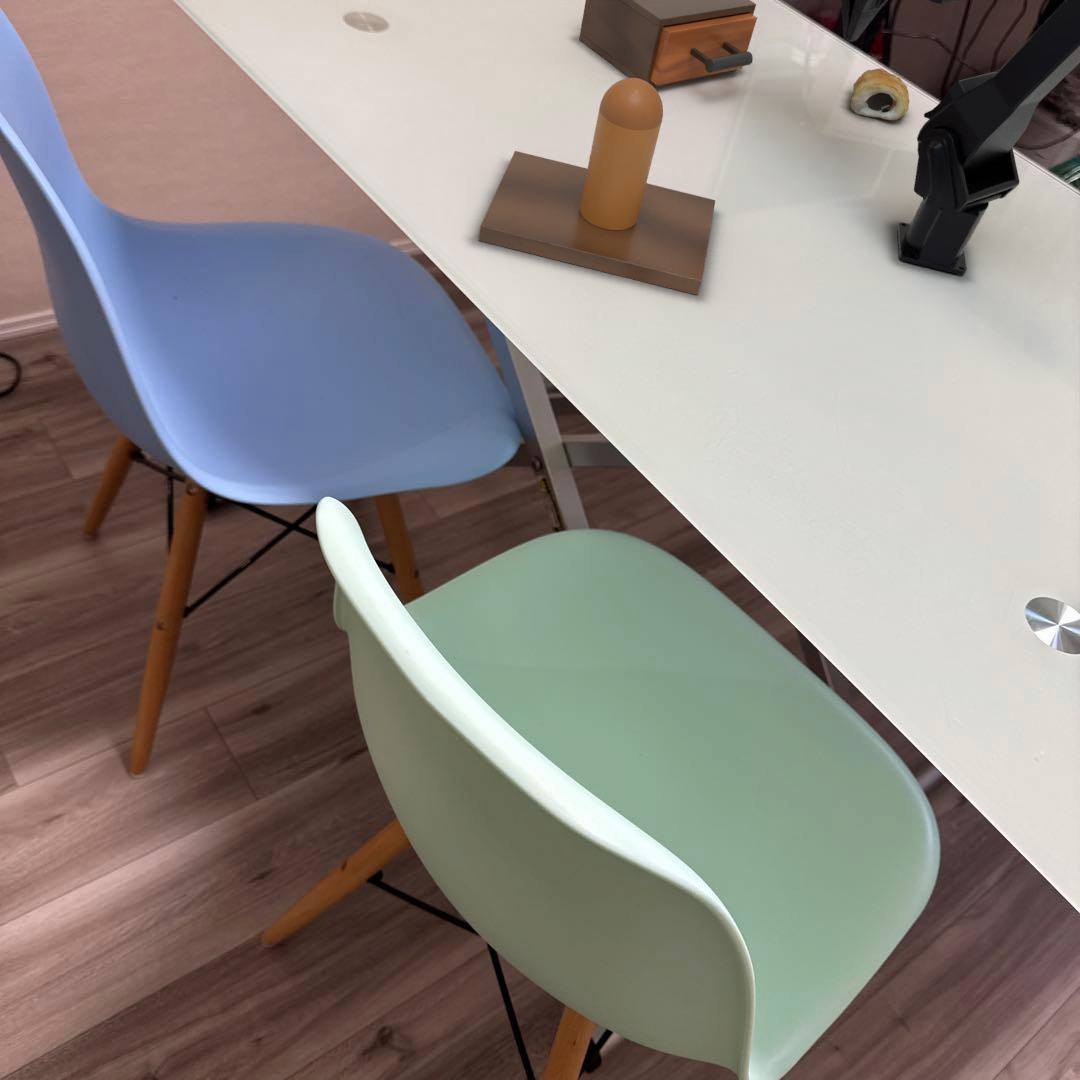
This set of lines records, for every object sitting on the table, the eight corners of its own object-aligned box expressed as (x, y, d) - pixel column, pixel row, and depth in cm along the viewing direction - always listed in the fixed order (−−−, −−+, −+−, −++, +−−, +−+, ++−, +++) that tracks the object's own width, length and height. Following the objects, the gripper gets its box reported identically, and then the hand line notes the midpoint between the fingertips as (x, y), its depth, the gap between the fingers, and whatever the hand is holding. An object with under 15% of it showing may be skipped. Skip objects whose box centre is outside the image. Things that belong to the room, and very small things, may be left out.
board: (697, 295, 87) (702, 281, 85) (478, 240, 87) (480, 225, 86) (711, 213, 96) (715, 199, 95) (512, 164, 96) (514, 150, 95)
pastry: (850, 80, 120) (863, 48, 118) (904, 94, 120) (918, 63, 117) (846, 113, 114) (859, 80, 111) (903, 128, 114) (917, 96, 111)
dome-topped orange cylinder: (648, 217, 91) (682, 86, 81) (612, 237, 88) (643, 104, 78) (604, 191, 93) (632, 60, 83) (567, 209, 90) (592, 76, 80)
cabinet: (736, 70, 117) (756, 4, 112) (644, 89, 111) (660, 19, 105) (670, 24, 123) (685, -41, 117) (578, 39, 116) (590, -29, 111)
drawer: (766, 85, 114) (782, 33, 110) (680, 103, 108) (694, 50, 103) (680, 25, 121) (692, -25, 117) (595, 39, 115) (605, -13, 111)
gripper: (1061, -113, 83) (973, 71, 95) (898, -187, 92) (836, -10, 104) (983, -105, 78) (900, 88, 90) (818, -183, 87) (762, 2, 99)
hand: (849, 39), depth 96 cm, fingers closed
